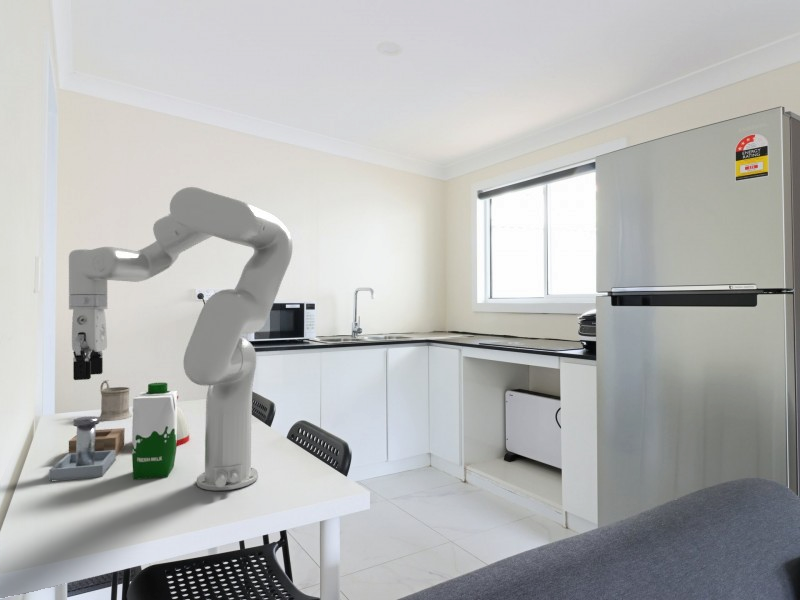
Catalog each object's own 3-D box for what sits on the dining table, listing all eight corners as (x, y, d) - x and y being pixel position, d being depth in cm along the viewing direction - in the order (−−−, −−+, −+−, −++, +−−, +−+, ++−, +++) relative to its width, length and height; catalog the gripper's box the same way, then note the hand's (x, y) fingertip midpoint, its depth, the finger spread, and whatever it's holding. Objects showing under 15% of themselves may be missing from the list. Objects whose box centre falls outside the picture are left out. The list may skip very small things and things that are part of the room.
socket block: (115, 457, 118) (115, 437, 118) (68, 461, 115) (68, 441, 115) (124, 446, 128) (124, 428, 128) (81, 449, 125) (81, 430, 125)
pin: (94, 470, 108) (95, 420, 108) (68, 472, 106) (70, 421, 106) (100, 463, 113) (101, 415, 113) (75, 465, 111) (77, 417, 111)
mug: (137, 416, 163) (138, 381, 163) (107, 422, 155) (108, 385, 155) (115, 411, 171) (116, 378, 171) (85, 416, 162) (86, 381, 163)
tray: (102, 476, 105) (102, 465, 105) (49, 481, 102) (49, 469, 102) (115, 460, 117) (115, 449, 117) (68, 464, 113) (68, 453, 113)
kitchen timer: (135, 439, 136) (136, 386, 136) (187, 433, 142) (188, 383, 142) (132, 452, 123) (134, 394, 124) (190, 445, 130) (191, 390, 130)
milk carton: (178, 465, 113) (180, 381, 114) (171, 478, 105) (172, 387, 105) (138, 468, 111) (139, 382, 111) (126, 481, 102) (128, 389, 103)
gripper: (96, 302, 103) (96, 380, 103) (115, 303, 119) (116, 371, 119) (55, 302, 101) (56, 383, 100) (81, 304, 117) (81, 373, 117)
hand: (88, 376), depth 110 cm, fingers open, 9 cm apart
